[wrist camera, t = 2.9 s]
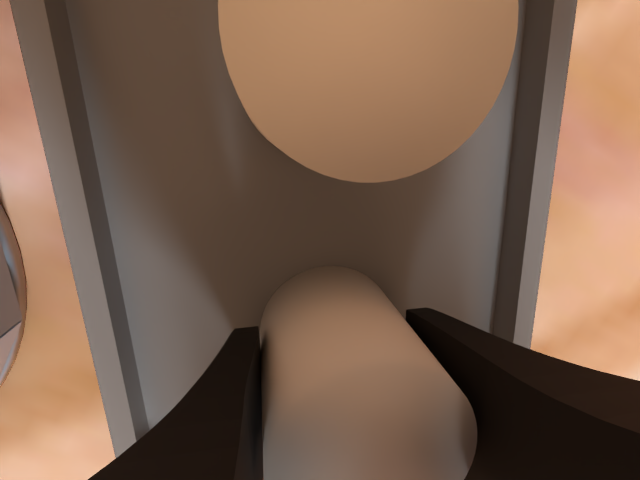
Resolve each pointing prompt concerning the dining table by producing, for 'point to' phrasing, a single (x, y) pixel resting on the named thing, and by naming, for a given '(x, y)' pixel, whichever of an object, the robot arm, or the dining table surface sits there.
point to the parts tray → (263, 195)
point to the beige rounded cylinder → (368, 77)
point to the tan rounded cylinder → (355, 388)
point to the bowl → (10, 297)
